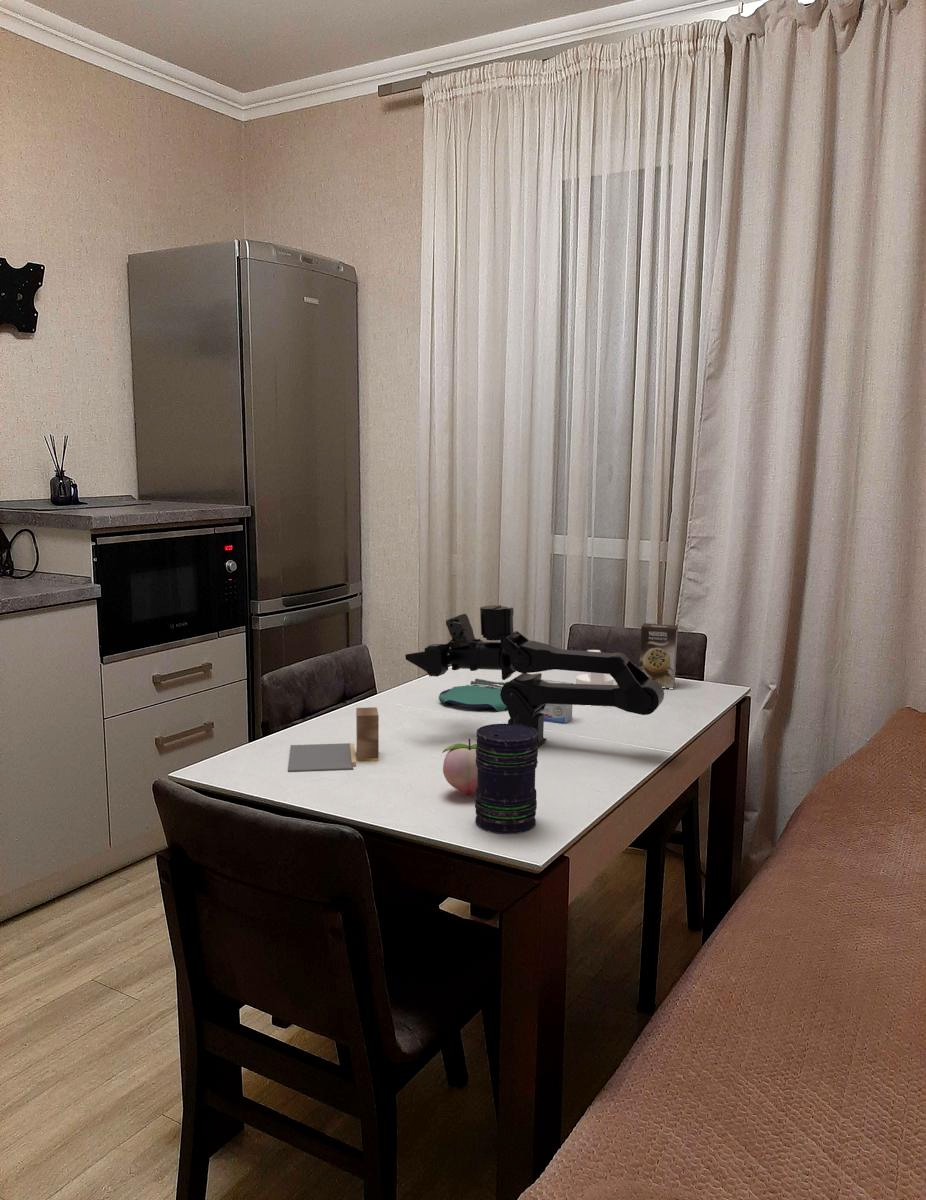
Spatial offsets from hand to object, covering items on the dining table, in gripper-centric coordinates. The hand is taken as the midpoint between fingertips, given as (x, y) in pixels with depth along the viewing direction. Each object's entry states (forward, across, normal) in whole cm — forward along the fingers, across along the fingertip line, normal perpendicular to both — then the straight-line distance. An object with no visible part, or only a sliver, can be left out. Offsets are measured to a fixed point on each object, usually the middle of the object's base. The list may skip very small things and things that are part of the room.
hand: (415, 653), depth 202 cm
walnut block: (+1, +21, +17) cm, 27 cm away
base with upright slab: (-28, -40, +18) cm, 52 cm away
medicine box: (-23, -21, +18) cm, 36 cm away
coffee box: (-38, -64, +18) cm, 76 cm away
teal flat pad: (-2, -34, +17) cm, 38 cm away
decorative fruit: (-26, +32, +19) cm, 46 cm away
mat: (+8, +26, +17) cm, 32 cm away
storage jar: (-36, +42, +20) cm, 59 cm away
